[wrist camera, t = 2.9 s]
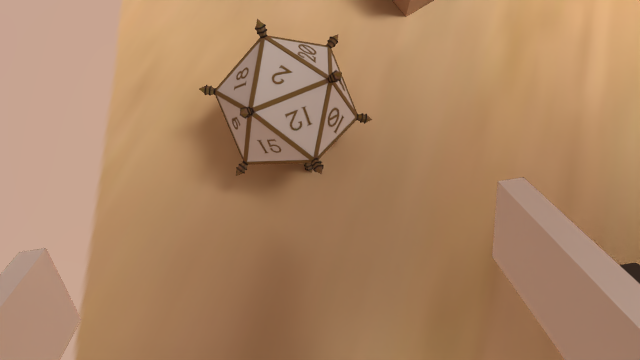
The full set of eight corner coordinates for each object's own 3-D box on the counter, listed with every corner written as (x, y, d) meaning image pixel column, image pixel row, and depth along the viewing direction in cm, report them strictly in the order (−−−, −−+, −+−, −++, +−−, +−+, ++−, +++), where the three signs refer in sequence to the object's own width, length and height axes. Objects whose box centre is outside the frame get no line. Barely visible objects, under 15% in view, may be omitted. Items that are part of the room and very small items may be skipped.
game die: (277, 135, 33) (226, 1, 28) (389, 129, 30) (358, -26, 24) (224, 220, 27) (142, 69, 21) (358, 224, 24) (305, 46, 18)
